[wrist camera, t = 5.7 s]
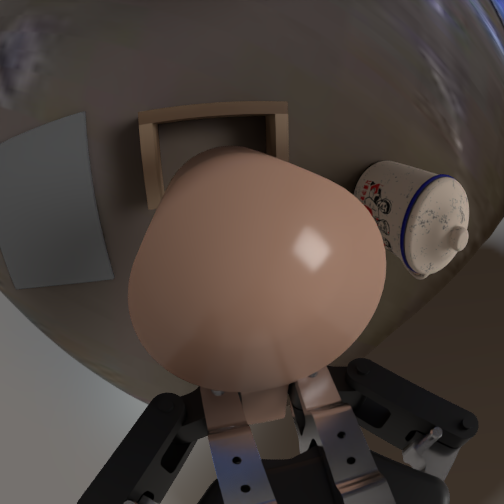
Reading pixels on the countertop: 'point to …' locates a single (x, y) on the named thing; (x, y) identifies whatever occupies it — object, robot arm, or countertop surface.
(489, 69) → the countertop surface
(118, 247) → the countertop surface
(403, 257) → the teacup with lid
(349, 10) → the countertop surface
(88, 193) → the charcoal mat
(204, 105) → the walnut holder
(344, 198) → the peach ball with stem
